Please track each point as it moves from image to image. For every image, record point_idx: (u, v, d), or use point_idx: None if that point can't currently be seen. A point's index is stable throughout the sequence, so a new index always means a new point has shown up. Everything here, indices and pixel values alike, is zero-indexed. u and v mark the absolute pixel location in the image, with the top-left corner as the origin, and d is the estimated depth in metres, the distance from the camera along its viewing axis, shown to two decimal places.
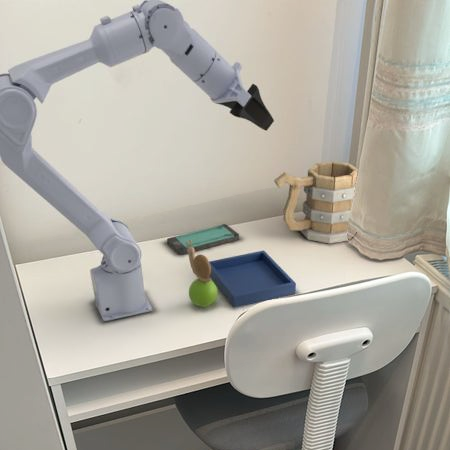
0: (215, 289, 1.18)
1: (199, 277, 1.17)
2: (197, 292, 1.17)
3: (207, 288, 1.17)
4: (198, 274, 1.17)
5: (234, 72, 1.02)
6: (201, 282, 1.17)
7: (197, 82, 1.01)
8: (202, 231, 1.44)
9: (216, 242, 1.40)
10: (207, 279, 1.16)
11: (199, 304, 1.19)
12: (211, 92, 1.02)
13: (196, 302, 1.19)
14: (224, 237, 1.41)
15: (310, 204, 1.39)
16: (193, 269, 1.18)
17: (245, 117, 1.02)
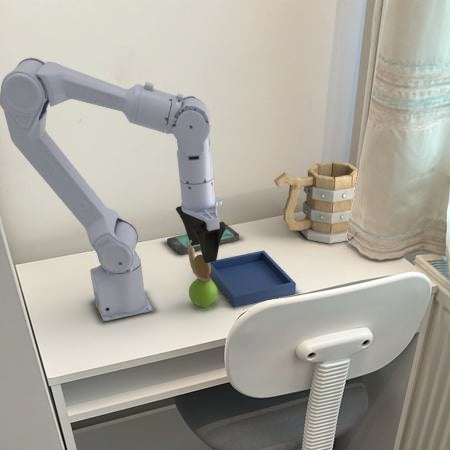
0: (215, 289, 1.18)
1: (199, 277, 1.17)
2: (197, 292, 1.17)
3: (207, 288, 1.17)
4: (198, 274, 1.17)
5: (214, 202, 1.08)
6: (201, 282, 1.17)
7: (184, 185, 1.05)
8: None
9: None
10: (207, 279, 1.16)
11: (199, 304, 1.19)
12: (188, 201, 1.07)
13: (196, 302, 1.19)
14: (224, 237, 1.41)
15: (310, 204, 1.39)
16: (193, 269, 1.18)
17: (201, 240, 1.07)
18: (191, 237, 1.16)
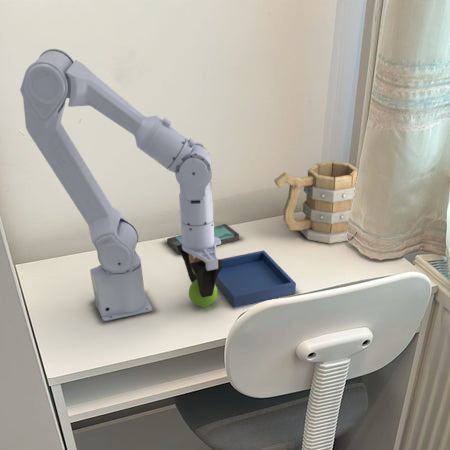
0: (215, 289, 1.18)
1: None
2: (197, 292, 1.17)
3: None
4: None
5: (213, 242, 1.13)
6: None
7: (185, 226, 1.10)
8: None
9: None
10: None
11: (199, 304, 1.19)
12: (189, 241, 1.11)
13: (196, 302, 1.19)
14: (224, 237, 1.41)
15: (310, 204, 1.39)
16: None
17: (198, 276, 1.12)
18: (191, 274, 1.20)
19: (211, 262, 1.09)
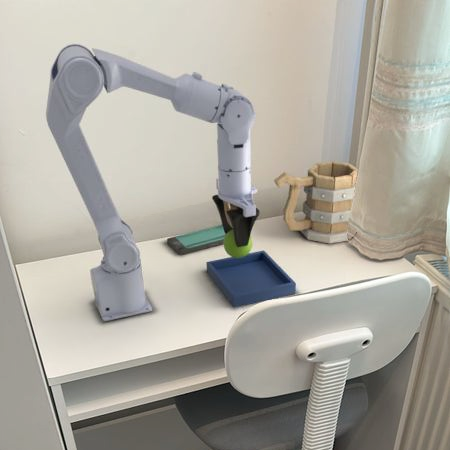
0: (250, 239, 1.18)
1: None
2: (233, 242, 1.17)
3: None
4: None
5: (250, 190, 1.13)
6: None
7: (223, 172, 1.09)
8: (202, 231, 1.44)
9: (216, 242, 1.40)
10: None
11: (234, 255, 1.19)
12: (226, 188, 1.11)
13: (231, 253, 1.18)
14: (224, 237, 1.41)
15: (310, 204, 1.39)
16: (228, 219, 1.18)
17: (235, 224, 1.12)
18: (226, 225, 1.20)
19: (249, 208, 1.08)
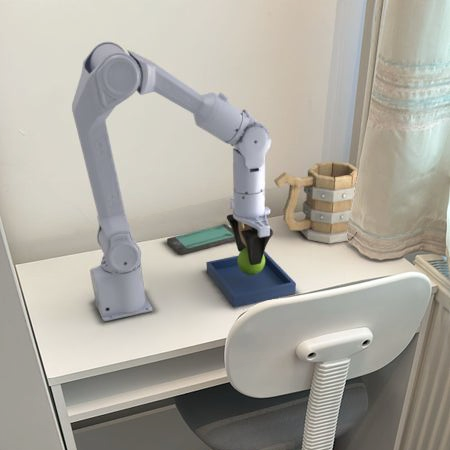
0: (263, 257, 1.23)
1: None
2: (246, 260, 1.22)
3: None
4: None
5: (264, 211, 1.17)
6: None
7: (238, 194, 1.14)
8: (202, 231, 1.44)
9: (216, 242, 1.40)
10: None
11: (247, 272, 1.23)
12: (241, 210, 1.16)
13: (245, 270, 1.23)
14: (224, 237, 1.41)
15: (310, 204, 1.39)
16: (242, 238, 1.22)
17: (249, 243, 1.17)
18: (239, 243, 1.25)
19: (263, 229, 1.13)
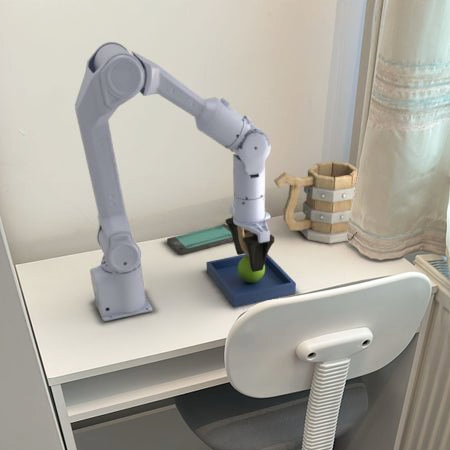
0: None
1: (248, 254, 1.23)
2: (247, 268, 1.23)
3: None
4: (247, 251, 1.23)
5: (264, 216, 1.18)
6: None
7: (238, 200, 1.15)
8: (202, 231, 1.44)
9: (216, 242, 1.40)
10: None
11: (248, 280, 1.24)
12: (241, 215, 1.16)
13: (245, 278, 1.24)
14: (224, 237, 1.41)
15: (310, 204, 1.39)
16: (242, 246, 1.24)
17: (251, 250, 1.17)
18: (238, 247, 1.26)
19: (263, 234, 1.14)
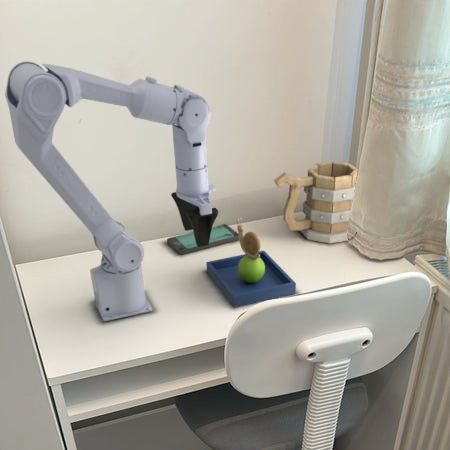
0: (263, 265, 1.24)
1: (248, 254, 1.23)
2: (247, 268, 1.23)
3: (256, 264, 1.23)
4: (247, 251, 1.23)
5: (208, 189, 1.14)
6: (250, 258, 1.23)
7: (179, 171, 1.11)
8: None
9: (216, 242, 1.40)
10: (256, 255, 1.22)
11: (248, 280, 1.24)
12: (183, 187, 1.12)
13: (245, 278, 1.24)
14: (224, 237, 1.41)
15: (310, 204, 1.39)
16: (242, 246, 1.24)
17: (194, 224, 1.13)
18: (185, 222, 1.22)
19: (205, 206, 1.10)
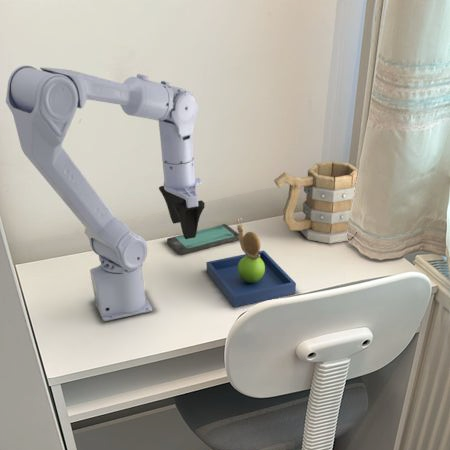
0: (263, 265, 1.24)
1: (248, 254, 1.23)
2: (247, 268, 1.23)
3: (256, 264, 1.23)
4: (247, 251, 1.23)
5: (194, 182, 1.17)
6: (250, 258, 1.23)
7: (166, 165, 1.13)
8: (202, 231, 1.44)
9: (216, 242, 1.40)
10: (256, 255, 1.22)
11: (248, 280, 1.24)
12: (170, 180, 1.15)
13: (245, 278, 1.24)
14: (224, 237, 1.41)
15: (310, 204, 1.39)
16: (242, 246, 1.24)
17: (181, 216, 1.16)
18: (173, 215, 1.25)
19: (191, 199, 1.12)
